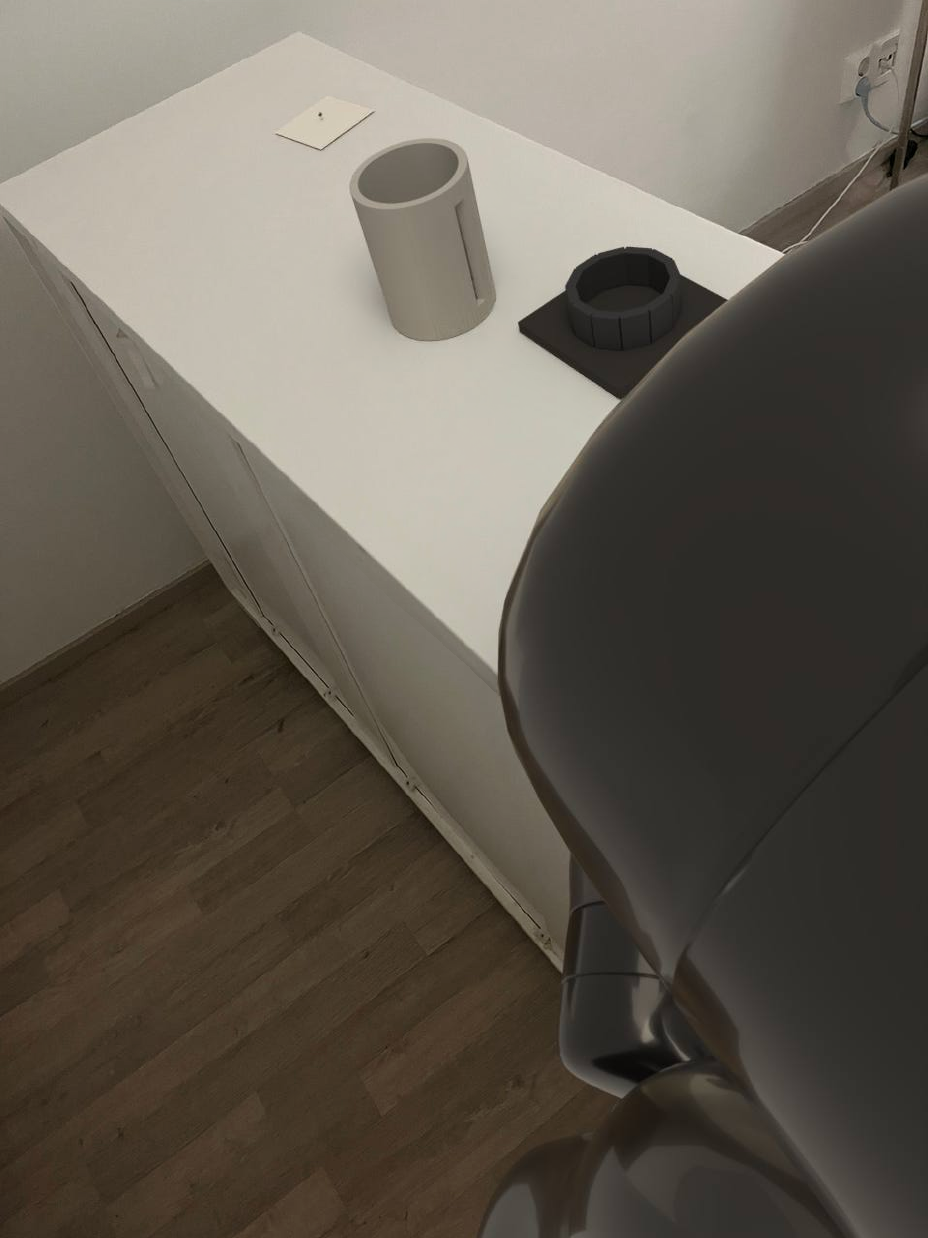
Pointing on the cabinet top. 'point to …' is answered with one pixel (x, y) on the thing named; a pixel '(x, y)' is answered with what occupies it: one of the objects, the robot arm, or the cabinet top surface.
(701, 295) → the docking pad
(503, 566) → the cabinet top surface
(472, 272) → the cup
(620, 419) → the robot arm
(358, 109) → the coaster
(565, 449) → the cabinet top surface
